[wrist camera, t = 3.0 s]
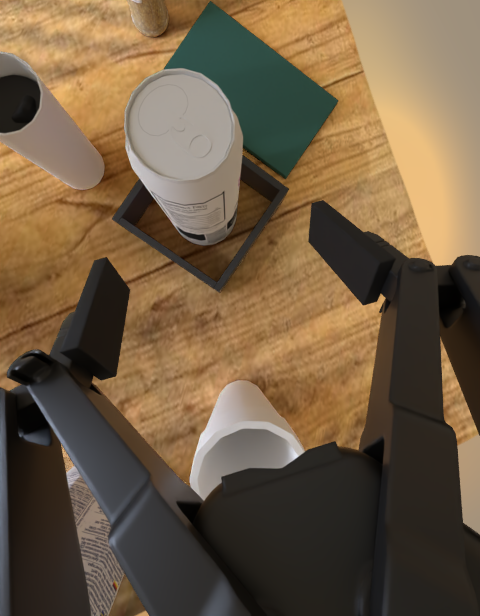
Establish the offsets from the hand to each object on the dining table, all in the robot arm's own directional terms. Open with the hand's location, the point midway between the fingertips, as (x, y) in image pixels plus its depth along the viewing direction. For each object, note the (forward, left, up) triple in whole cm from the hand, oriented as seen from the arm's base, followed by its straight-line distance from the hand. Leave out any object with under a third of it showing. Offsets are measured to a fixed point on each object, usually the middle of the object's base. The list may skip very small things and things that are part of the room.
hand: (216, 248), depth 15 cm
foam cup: (+12, -13, -15) cm, 23 cm away
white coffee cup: (-22, +1, -15) cm, 27 cm away
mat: (-10, +21, -15) cm, 28 cm away
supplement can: (-6, +5, -15) cm, 17 cm away
